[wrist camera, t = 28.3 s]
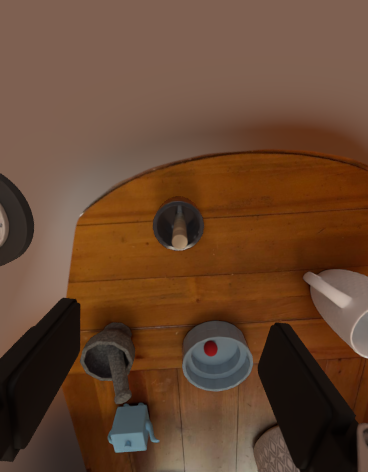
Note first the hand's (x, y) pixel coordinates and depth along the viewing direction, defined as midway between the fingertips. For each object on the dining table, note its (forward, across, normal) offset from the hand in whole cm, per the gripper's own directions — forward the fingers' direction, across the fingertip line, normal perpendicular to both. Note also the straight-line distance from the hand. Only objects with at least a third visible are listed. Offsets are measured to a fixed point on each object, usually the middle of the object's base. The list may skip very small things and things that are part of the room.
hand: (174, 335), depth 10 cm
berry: (+26, -11, +27) cm, 39 cm away
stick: (+28, 0, 0) cm, 28 cm away
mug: (+28, -31, +9) cm, 43 cm away
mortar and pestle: (+28, +9, +28) cm, 41 cm away
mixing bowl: (+28, -12, +28) cm, 42 cm away
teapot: (+28, +3, +51) cm, 58 cm away
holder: (+28, 0, 0) cm, 28 cm away
